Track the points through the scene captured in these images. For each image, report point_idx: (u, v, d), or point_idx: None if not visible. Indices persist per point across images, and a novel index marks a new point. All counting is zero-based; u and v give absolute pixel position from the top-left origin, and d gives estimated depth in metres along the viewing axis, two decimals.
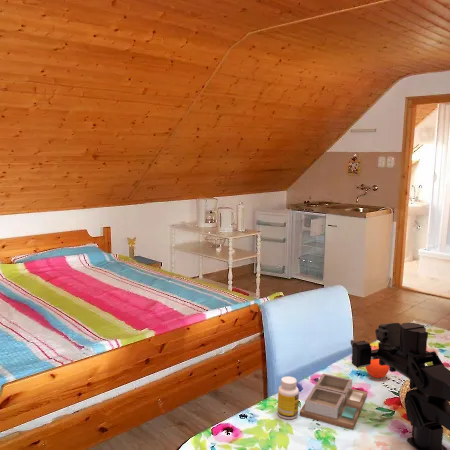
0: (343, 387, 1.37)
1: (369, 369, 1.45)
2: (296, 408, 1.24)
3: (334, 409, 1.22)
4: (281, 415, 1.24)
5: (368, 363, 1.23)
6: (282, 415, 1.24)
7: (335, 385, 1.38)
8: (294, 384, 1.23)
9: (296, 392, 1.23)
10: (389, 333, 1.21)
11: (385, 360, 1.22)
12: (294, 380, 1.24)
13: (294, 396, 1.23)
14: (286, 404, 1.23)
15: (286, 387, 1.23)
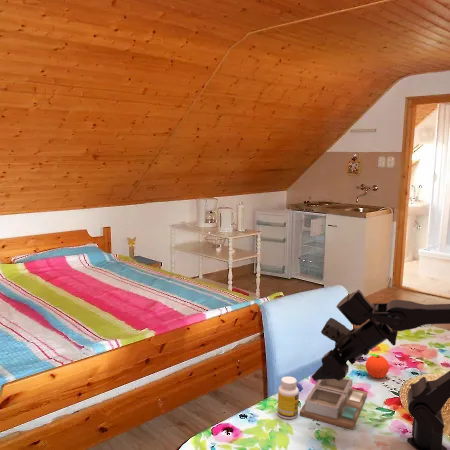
0: (343, 387, 1.37)
1: (369, 369, 1.45)
2: (296, 408, 1.24)
3: (334, 409, 1.22)
4: (281, 415, 1.24)
5: (347, 366, 1.11)
6: (282, 415, 1.24)
7: (335, 385, 1.38)
8: (294, 384, 1.23)
9: (296, 392, 1.23)
10: (335, 327, 1.16)
11: (354, 351, 1.13)
12: (294, 380, 1.24)
13: (294, 396, 1.23)
14: (286, 404, 1.23)
15: (286, 387, 1.23)
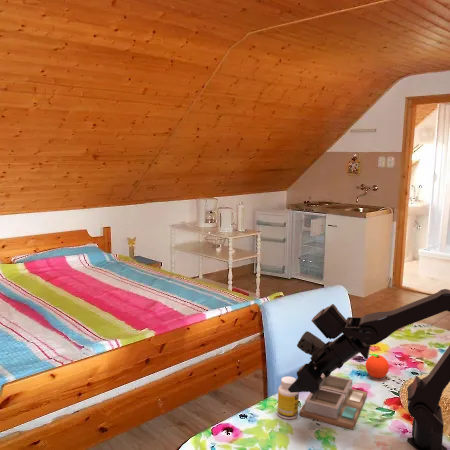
0: (343, 387, 1.37)
1: (369, 369, 1.45)
2: (296, 408, 1.24)
3: (334, 409, 1.22)
4: (281, 415, 1.24)
5: (321, 379, 1.14)
6: (282, 415, 1.24)
7: (335, 385, 1.38)
8: None
9: (296, 392, 1.23)
10: (310, 341, 1.19)
11: (328, 365, 1.16)
12: (294, 380, 1.24)
13: (294, 396, 1.23)
14: (286, 404, 1.23)
15: (286, 387, 1.23)
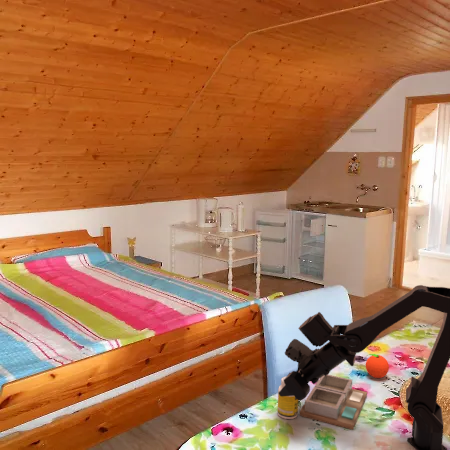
0: (343, 387, 1.37)
1: (369, 369, 1.45)
2: (296, 408, 1.24)
3: (334, 409, 1.22)
4: (281, 415, 1.24)
5: (308, 386, 1.16)
6: (282, 415, 1.24)
7: (335, 385, 1.38)
8: None
9: None
10: (297, 348, 1.21)
11: (315, 372, 1.18)
12: None
13: (294, 396, 1.23)
14: (286, 404, 1.23)
15: None
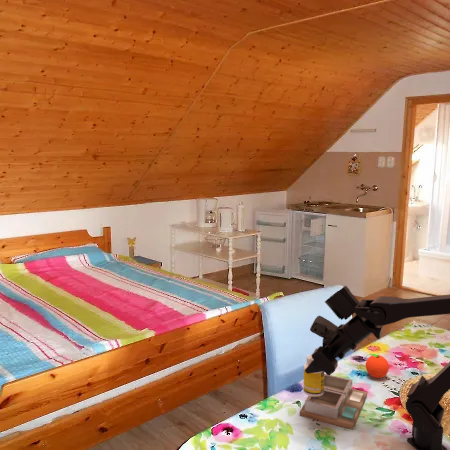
0: (343, 387, 1.37)
1: (369, 369, 1.45)
2: (322, 385, 1.23)
3: (334, 409, 1.22)
4: (307, 393, 1.23)
5: (336, 361, 1.15)
6: (308, 393, 1.23)
7: (335, 385, 1.38)
8: None
9: None
10: (323, 324, 1.20)
11: (342, 346, 1.18)
12: None
13: (321, 373, 1.22)
14: (313, 381, 1.22)
15: None
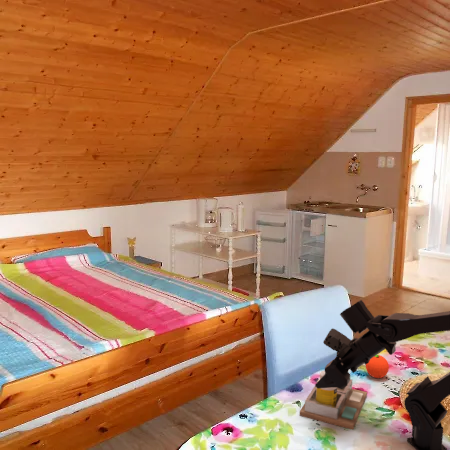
0: None
1: (369, 369, 1.45)
2: (335, 402, 1.25)
3: (334, 409, 1.22)
4: None
5: (349, 375, 1.17)
6: None
7: None
8: None
9: None
10: (336, 337, 1.21)
11: (355, 360, 1.19)
12: None
13: (333, 390, 1.24)
14: (325, 398, 1.24)
15: None
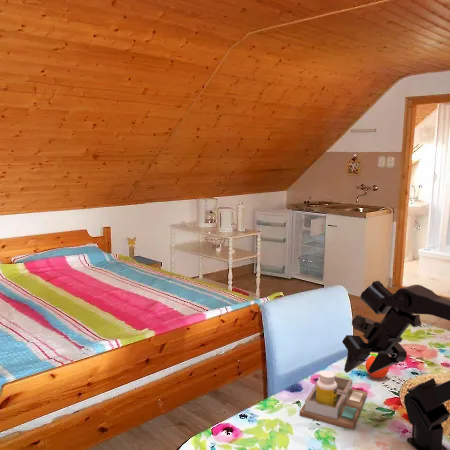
0: (343, 387, 1.37)
1: None
2: (335, 402, 1.25)
3: (334, 409, 1.22)
4: None
5: (367, 348, 1.15)
6: None
7: None
8: (333, 378, 1.24)
9: (335, 386, 1.24)
10: None
11: (378, 338, 1.17)
12: (333, 374, 1.25)
13: (333, 390, 1.24)
14: (325, 398, 1.24)
15: (325, 381, 1.24)
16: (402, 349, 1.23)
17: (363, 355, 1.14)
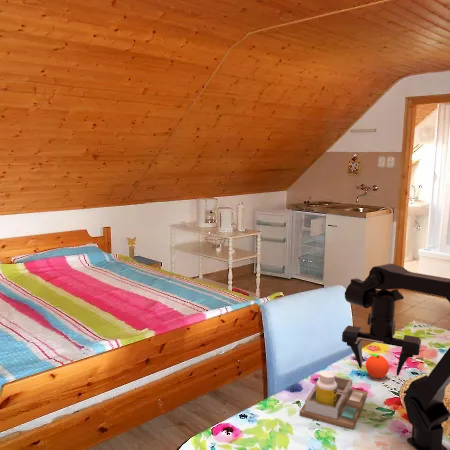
0: (343, 387, 1.37)
1: (369, 369, 1.45)
2: (335, 402, 1.25)
3: (334, 409, 1.22)
4: None
5: (355, 332, 1.22)
6: None
7: None
8: (333, 378, 1.24)
9: (335, 386, 1.24)
10: None
11: (370, 324, 1.22)
12: (332, 374, 1.25)
13: (333, 390, 1.24)
14: (325, 398, 1.24)
15: (325, 381, 1.24)
16: (413, 341, 1.17)
17: (348, 337, 1.22)
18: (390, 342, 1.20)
